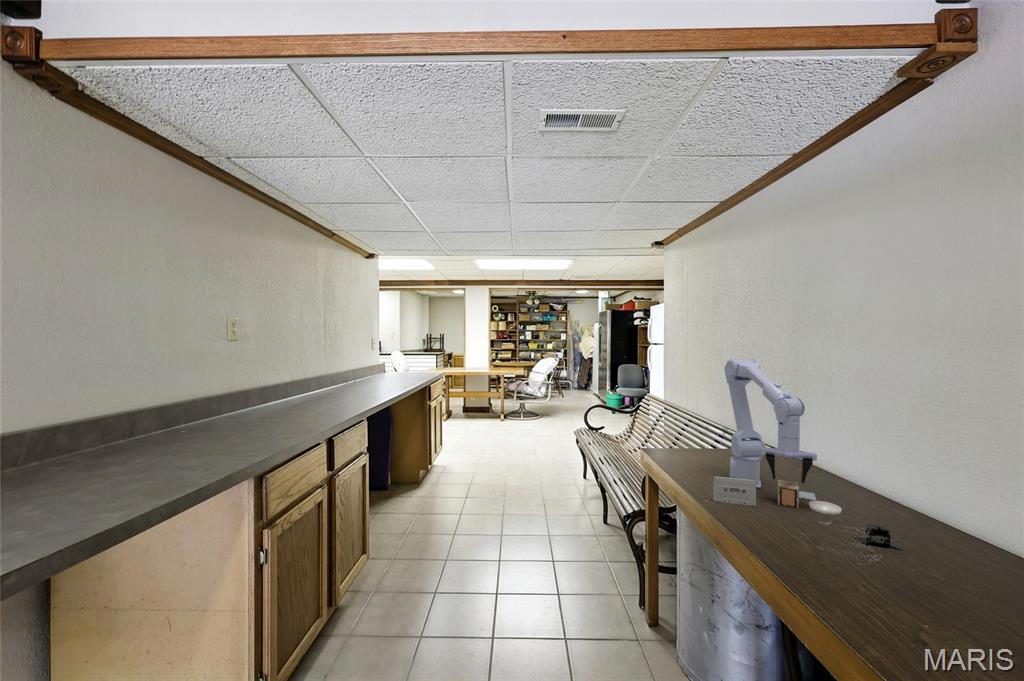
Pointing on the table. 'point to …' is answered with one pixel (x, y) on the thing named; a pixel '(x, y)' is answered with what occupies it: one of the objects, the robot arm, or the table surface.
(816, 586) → the table surface
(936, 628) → the table surface
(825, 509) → the dish
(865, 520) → the table surface
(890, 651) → the table surface
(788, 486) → the beige open box
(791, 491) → the block
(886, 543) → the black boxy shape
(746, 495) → the cassette
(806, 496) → the pad
